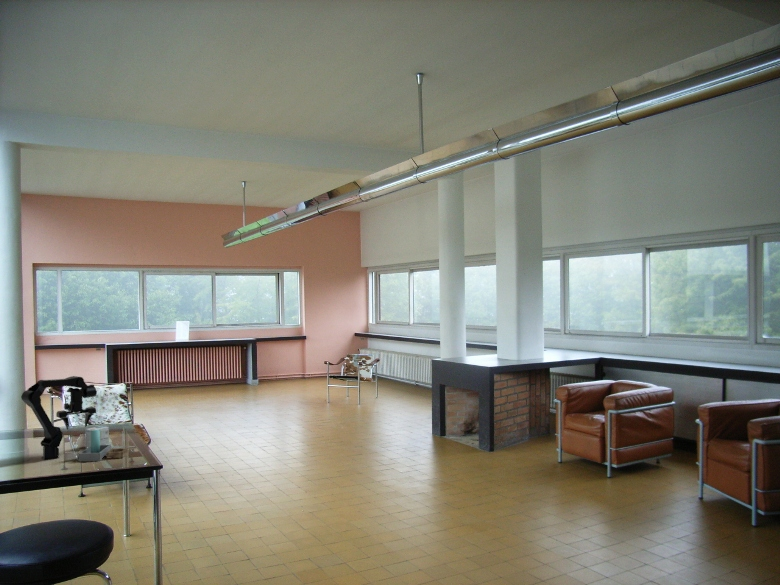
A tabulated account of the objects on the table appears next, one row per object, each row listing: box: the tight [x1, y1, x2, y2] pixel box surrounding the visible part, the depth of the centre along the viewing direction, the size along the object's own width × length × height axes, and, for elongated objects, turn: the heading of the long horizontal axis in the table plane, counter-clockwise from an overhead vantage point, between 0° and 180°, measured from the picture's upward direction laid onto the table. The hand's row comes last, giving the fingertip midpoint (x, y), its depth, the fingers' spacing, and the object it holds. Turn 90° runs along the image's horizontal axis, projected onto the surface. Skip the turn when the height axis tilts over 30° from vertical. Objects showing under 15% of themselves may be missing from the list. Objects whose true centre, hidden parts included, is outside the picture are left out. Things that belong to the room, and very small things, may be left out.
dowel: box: [91, 430, 100, 453], centre depth 329 cm, size 4×4×13 cm
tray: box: [78, 444, 112, 462], centre depth 329 cm, size 11×18×4 cm, turn 7°
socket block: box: [106, 447, 129, 459], centre depth 330 cm, size 8×8×3 cm
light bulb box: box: [84, 425, 110, 448], centre depth 350 cm, size 11×7×11 cm, turn 146°
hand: (76, 428), depth 339 cm, fingers open, 9 cm apart
